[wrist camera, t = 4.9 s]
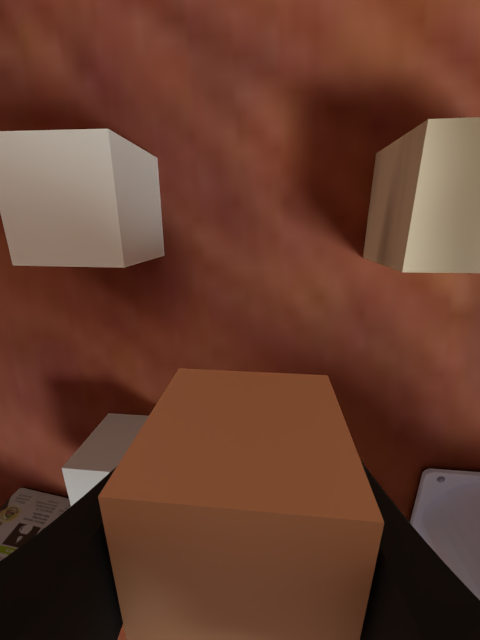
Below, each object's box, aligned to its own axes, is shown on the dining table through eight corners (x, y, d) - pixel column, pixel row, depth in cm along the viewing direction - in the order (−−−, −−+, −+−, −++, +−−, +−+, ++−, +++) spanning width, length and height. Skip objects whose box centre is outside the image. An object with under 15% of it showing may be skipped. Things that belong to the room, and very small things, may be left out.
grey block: (177, 416, 20) (149, 475, 16) (182, 473, 22) (157, 542, 17) (109, 412, 21) (61, 468, 16) (118, 468, 22) (77, 533, 18)
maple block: (485, 151, 14) (597, 113, 9) (460, 258, 15) (545, 273, 11) (375, 153, 14) (428, 119, 10) (362, 257, 16) (402, 272, 11)
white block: (157, 158, 15) (108, 128, 11) (165, 255, 17) (124, 267, 12) (67, 159, 16) (-19, 131, 11) (82, 254, 17) (12, 265, 13)
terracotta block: (327, 375, 10) (384, 522, 5) (315, 491, 11) (348, 689, 6) (178, 368, 10) (97, 496, 5) (187, 481, 12) (129, 659, 7)
